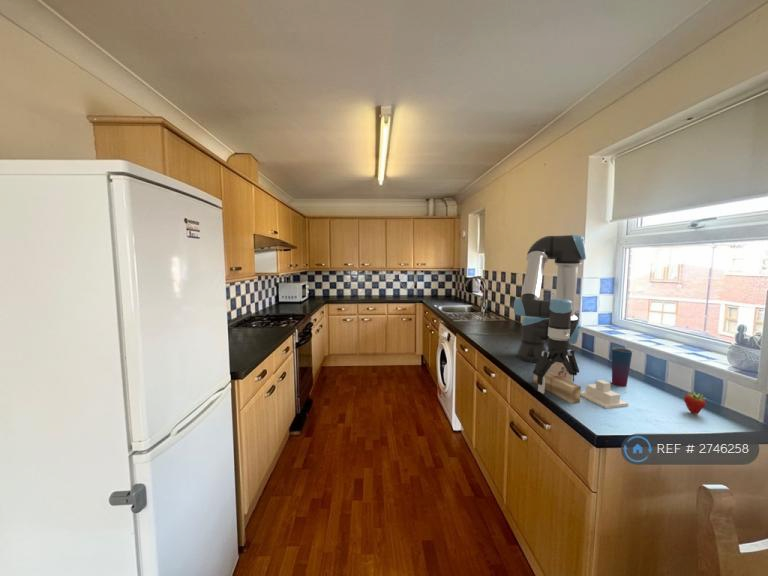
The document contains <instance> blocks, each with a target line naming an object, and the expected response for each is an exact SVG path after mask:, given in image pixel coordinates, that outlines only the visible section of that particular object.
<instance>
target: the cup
mask: <svg viewBox="0 0 768 576" xmlns="http://www.w3.org/2000/svg"><path fill="white" fill-rule="evenodd" d="M611 350H612V351H611V384H612V385H614V386H617V387H621V388H623V387H627V386H628V379H629V373H630V369H631V362H632V356H633V350H631V349H629V348H624V347H612V349H611Z"/></svg>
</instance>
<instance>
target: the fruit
mask: <svg viewBox="0 0 768 576" xmlns="http://www.w3.org/2000/svg"><path fill="white" fill-rule="evenodd" d="M703 396H704V394H703V393H702V394H701V392H698V393H696V391H695V390H692V391H691V392H687V394H686V395H685V396H684V398H683V400H684V403H685V406H686V408H687V410H688V411H689V412H690V413H691V414H694V415H698V414H700V412H701V411H702V409H703V408H704V407H706V404H707V402H706V399H707V398H706V397H703Z"/></svg>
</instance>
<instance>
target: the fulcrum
mask: <svg viewBox="0 0 768 576" xmlns="http://www.w3.org/2000/svg"><path fill="white" fill-rule="evenodd" d="M611 384H612V382H609V381H606V380H604V379H600V380H599V379H598V380H596V382H595V383H592V384H586V386H585V387H586V388H585V389H586V390H583V391H582V390H581V393H580V397H582V398H584V399H586V400H588V401H590V402H592V403H594V404H596V405H598V406H600V407H602V408H603V409H612V408H613V409H614V408H623V407H628V406H629V402H627V401H624V400H622V399H621V395H620V394H619V393H617V392H615V391H613V390H611Z"/></svg>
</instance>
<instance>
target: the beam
mask: <svg viewBox="0 0 768 576" xmlns="http://www.w3.org/2000/svg"><path fill="white" fill-rule="evenodd" d="M544 377H545V390H546V391H548V392H550V393H551V394H554V395H555V396H557V397H559V398H561V399H562V400H564V401H565V402H568V403H569V404H574V403H575V404H577V403H580V402H581V396H580V393H581V391H582V390H581V389H582V386H580V385H579V384H577V383H574V382H573V383H572V382H570V381H568V380H566V379H564V378H562V377H560V376H558V375H556V374H554V373H552V372H550V370H548V371H547V372H546V374H545V375H544ZM532 382H533V383H535V384H536V385H538V384H537V375H535V374H533V381H532Z"/></svg>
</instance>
